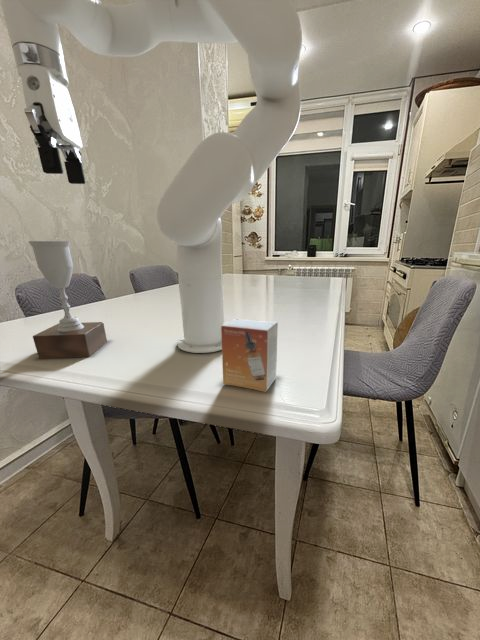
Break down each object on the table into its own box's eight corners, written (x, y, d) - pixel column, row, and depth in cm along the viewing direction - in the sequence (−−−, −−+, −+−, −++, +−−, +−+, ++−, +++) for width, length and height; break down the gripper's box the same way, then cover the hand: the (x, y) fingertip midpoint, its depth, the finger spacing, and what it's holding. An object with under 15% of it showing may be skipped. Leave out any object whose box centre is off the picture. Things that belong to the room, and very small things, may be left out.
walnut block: (107, 341, 71) (103, 321, 69) (89, 356, 62) (84, 334, 60) (63, 343, 70) (58, 323, 68) (38, 358, 60) (32, 336, 59)
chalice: (70, 334, 60) (48, 241, 54) (43, 332, 61) (18, 241, 55) (96, 324, 67) (79, 241, 60) (71, 323, 68) (51, 241, 62)
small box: (222, 385, 49) (219, 325, 46) (235, 372, 54) (234, 317, 51) (267, 392, 47) (267, 330, 43) (277, 378, 52) (278, 321, 48)
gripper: (37, 39, 44) (66, 169, 50) (85, 93, 60) (102, 186, 66) (-18, 35, 43) (18, 168, 49) (45, 91, 59) (66, 186, 65)
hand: (66, 178), depth 58 cm, fingers open, 9 cm apart
